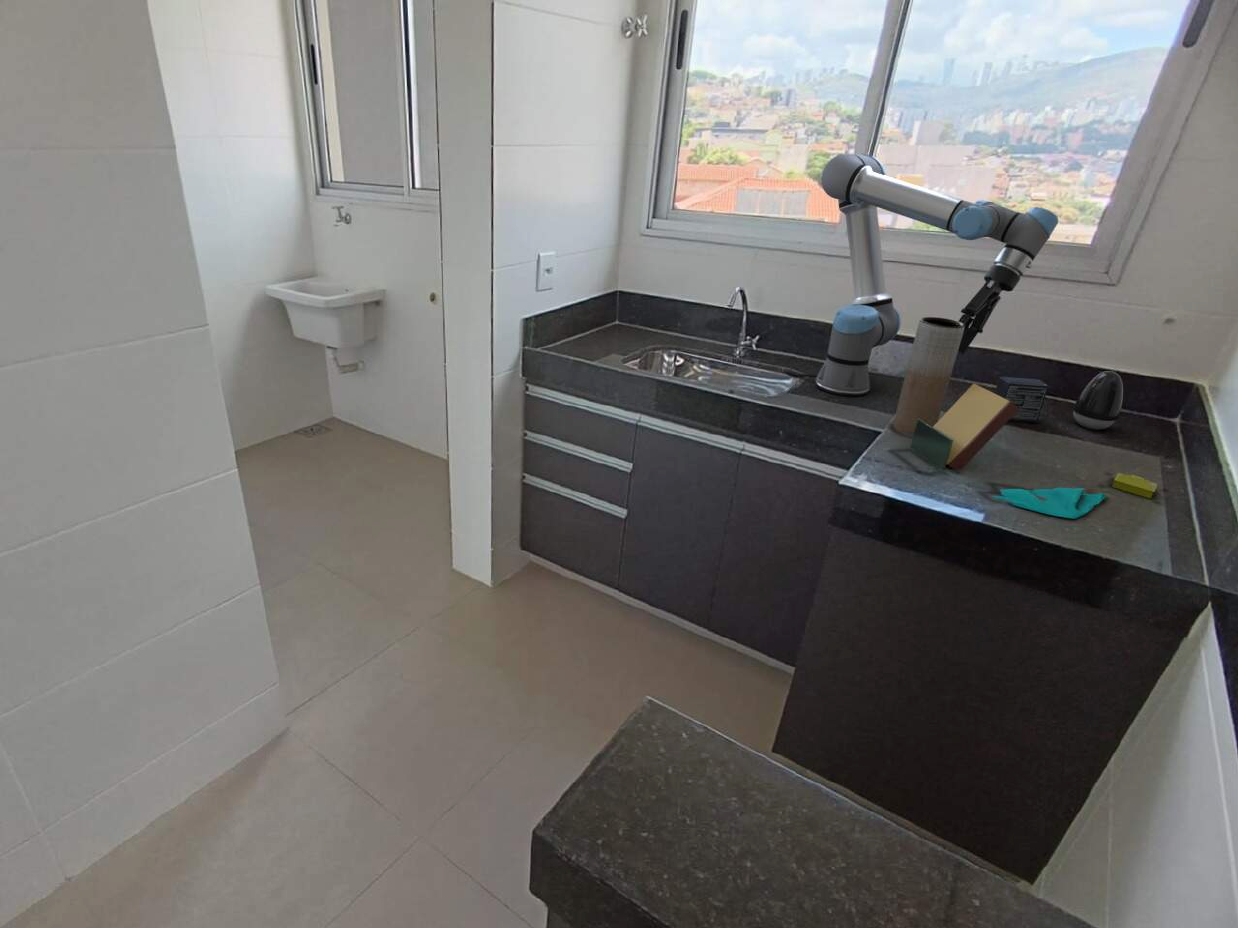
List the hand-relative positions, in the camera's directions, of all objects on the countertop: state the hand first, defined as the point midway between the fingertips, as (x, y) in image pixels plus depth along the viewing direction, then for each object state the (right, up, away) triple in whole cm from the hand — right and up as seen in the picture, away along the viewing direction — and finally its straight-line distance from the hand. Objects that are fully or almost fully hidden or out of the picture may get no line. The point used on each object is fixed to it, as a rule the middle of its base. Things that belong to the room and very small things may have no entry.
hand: (955, 346), depth 170 cm
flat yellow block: (+25, -36, -27) cm, 51 cm away
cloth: (+1, -39, -36) cm, 53 cm away
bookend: (-20, -30, -21) cm, 41 cm away
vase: (-13, -22, -4) cm, 26 cm away
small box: (+20, -18, +9) cm, 29 cm away
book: (-15, -29, -20) cm, 38 cm away
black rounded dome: (+40, -20, +7) cm, 45 cm away
